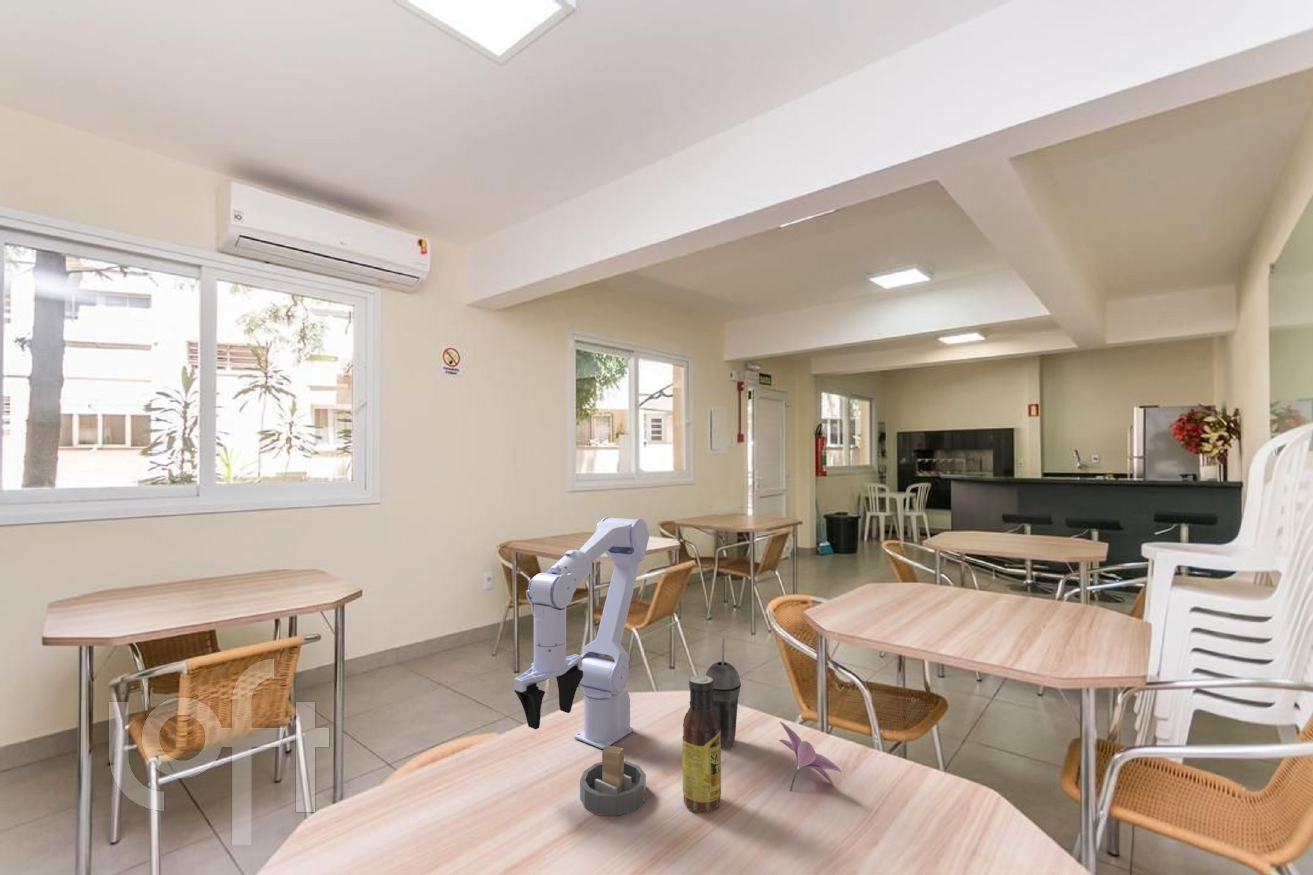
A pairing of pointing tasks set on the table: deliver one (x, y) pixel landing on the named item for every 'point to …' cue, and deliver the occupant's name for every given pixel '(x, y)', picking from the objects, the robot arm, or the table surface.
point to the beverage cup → (725, 698)
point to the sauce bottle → (701, 748)
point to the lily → (807, 755)
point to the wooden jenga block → (613, 767)
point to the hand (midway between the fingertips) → (549, 718)
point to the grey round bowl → (612, 791)
